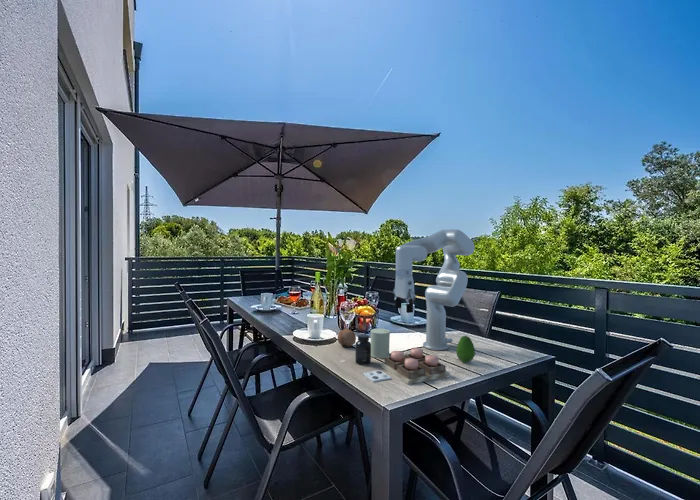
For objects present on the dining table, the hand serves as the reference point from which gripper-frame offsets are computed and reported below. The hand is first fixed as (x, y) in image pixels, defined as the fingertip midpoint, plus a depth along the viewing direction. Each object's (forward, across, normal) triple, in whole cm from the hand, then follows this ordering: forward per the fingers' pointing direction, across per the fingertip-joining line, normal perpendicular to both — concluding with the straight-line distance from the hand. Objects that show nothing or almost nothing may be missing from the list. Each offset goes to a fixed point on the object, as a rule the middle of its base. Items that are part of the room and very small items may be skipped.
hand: (403, 310), depth 156 cm
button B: (+18, -20, 0) cm, 27 cm away
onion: (+22, +25, +18) cm, 38 cm away
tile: (+22, -15, +22) cm, 34 cm away
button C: (+18, -11, +10) cm, 23 cm away
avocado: (+23, -15, -23) cm, 36 cm away
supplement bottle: (+22, +1, +20) cm, 30 cm away
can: (+22, +7, +8) cm, 25 cm away
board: (+22, -16, +5) cm, 27 cm away
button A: (+18, -10, 0) cm, 21 cm away
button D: (+18, -21, +10) cm, 29 cm away
